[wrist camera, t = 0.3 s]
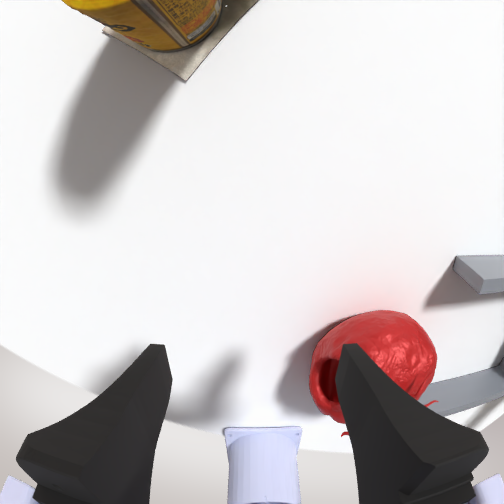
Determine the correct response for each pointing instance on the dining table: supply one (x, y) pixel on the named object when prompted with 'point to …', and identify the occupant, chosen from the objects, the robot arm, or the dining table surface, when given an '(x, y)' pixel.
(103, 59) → the dining table surface
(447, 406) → the tray
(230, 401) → the dining table surface
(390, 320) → the pomegranate
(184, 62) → the condiment
